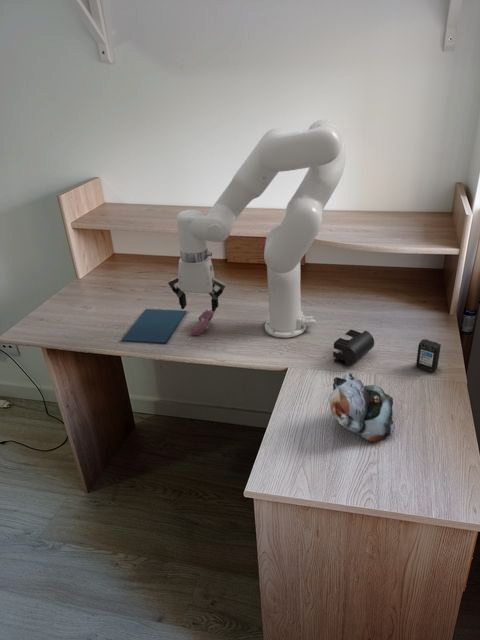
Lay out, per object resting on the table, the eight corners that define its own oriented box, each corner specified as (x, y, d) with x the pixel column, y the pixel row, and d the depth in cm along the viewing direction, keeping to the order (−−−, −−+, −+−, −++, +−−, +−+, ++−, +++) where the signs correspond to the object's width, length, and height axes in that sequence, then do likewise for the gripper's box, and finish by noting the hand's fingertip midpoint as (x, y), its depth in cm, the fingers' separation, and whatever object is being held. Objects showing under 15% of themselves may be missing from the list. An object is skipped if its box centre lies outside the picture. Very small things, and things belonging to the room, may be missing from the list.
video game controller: (202, 341, 157) (210, 323, 153) (188, 334, 156) (196, 317, 153) (211, 325, 165) (219, 308, 161) (198, 318, 165) (205, 301, 161)
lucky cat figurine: (393, 448, 111) (368, 411, 103) (342, 452, 118) (315, 418, 110) (398, 392, 121) (375, 355, 113) (351, 399, 127) (326, 364, 119)
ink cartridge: (415, 367, 136) (418, 342, 132) (419, 363, 138) (422, 338, 134) (433, 373, 134) (437, 347, 129) (437, 369, 135) (441, 343, 131)
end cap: (354, 371, 137) (356, 349, 133) (332, 362, 141) (332, 341, 137) (373, 354, 143) (375, 333, 139) (351, 346, 147) (352, 325, 143)
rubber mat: (186, 312, 170) (186, 310, 170) (165, 344, 154) (165, 342, 153) (146, 310, 173) (146, 309, 172) (121, 341, 156) (121, 339, 156)
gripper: (226, 251, 149) (229, 304, 158) (169, 248, 152) (176, 300, 161) (220, 261, 143) (223, 316, 152) (160, 258, 146) (167, 312, 155)
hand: (199, 308), depth 156 cm, fingers open, 9 cm apart
